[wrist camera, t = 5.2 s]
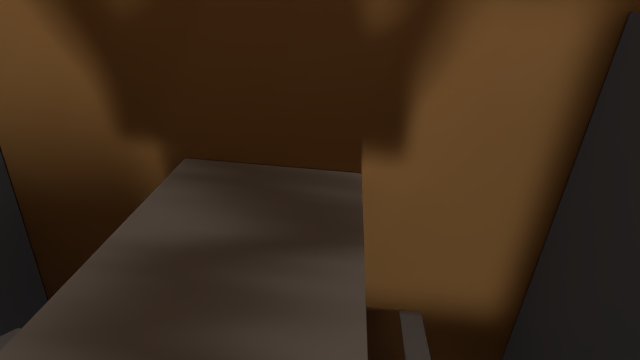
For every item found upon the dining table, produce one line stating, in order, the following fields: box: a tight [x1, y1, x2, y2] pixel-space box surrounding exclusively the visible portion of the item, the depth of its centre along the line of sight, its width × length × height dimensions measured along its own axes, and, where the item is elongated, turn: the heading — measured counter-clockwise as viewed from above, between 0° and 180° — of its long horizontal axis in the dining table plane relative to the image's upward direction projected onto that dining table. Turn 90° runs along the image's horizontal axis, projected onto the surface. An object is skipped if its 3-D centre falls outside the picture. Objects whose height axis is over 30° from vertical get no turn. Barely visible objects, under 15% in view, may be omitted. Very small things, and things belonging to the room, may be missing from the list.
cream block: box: [0, 158, 368, 360], centre depth 9 cm, size 5×5×7 cm
